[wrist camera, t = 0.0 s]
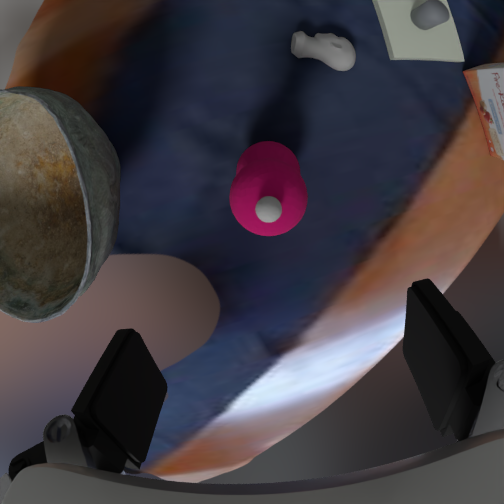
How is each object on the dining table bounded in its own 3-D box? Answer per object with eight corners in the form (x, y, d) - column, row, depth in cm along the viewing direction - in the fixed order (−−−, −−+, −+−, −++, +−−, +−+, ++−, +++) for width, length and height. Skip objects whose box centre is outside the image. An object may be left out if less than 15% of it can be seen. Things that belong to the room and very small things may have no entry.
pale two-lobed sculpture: (352, 51, 32) (346, 81, 32) (293, 31, 31) (284, 60, 31) (363, 36, 27) (358, 67, 28) (300, 13, 27) (290, 43, 27)
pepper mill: (288, 132, 36) (310, 145, 18) (302, 186, 39) (333, 250, 20) (232, 147, 37) (198, 175, 19) (248, 200, 40) (231, 273, 21)
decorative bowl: (144, 55, 31) (43, 29, 13) (191, 232, 42) (133, 324, 24) (16, 126, 36) (-76, 153, 18) (60, 260, 46) (-10, 327, 29)
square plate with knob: (366, -16, 26) (381, -34, 20) (437, -9, 24) (458, -21, 18) (390, 59, 30) (410, 51, 25) (459, 62, 29) (484, 57, 23)
